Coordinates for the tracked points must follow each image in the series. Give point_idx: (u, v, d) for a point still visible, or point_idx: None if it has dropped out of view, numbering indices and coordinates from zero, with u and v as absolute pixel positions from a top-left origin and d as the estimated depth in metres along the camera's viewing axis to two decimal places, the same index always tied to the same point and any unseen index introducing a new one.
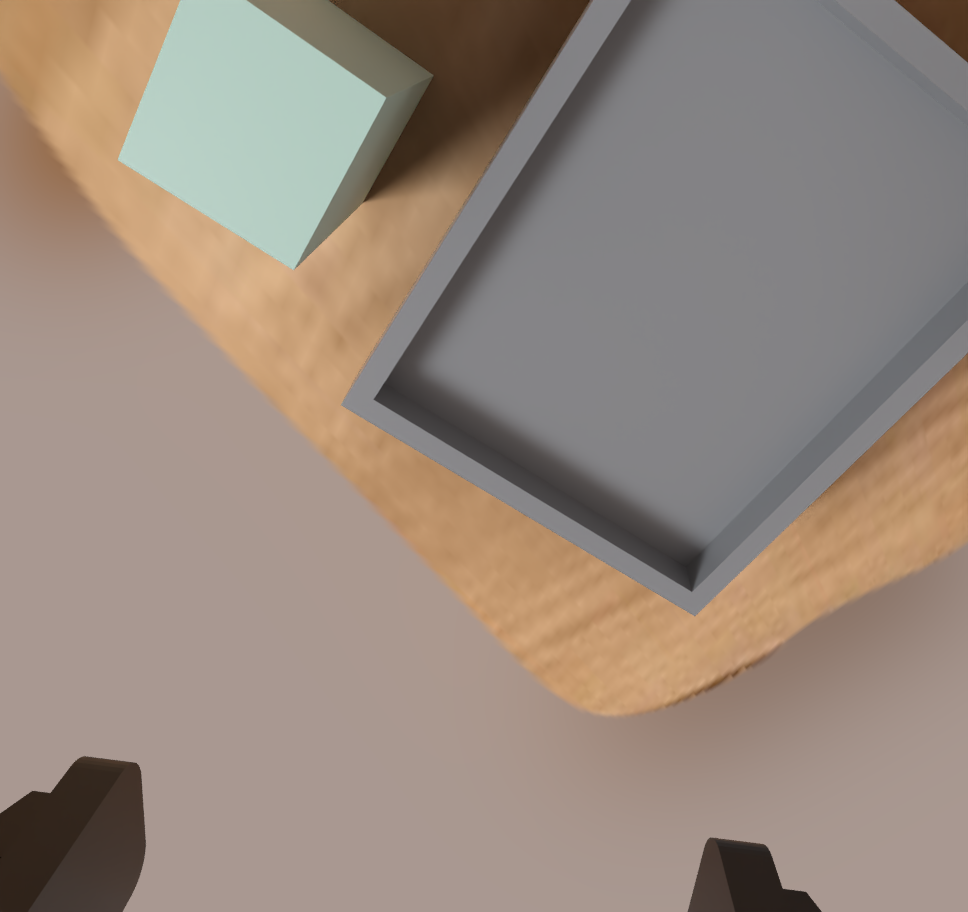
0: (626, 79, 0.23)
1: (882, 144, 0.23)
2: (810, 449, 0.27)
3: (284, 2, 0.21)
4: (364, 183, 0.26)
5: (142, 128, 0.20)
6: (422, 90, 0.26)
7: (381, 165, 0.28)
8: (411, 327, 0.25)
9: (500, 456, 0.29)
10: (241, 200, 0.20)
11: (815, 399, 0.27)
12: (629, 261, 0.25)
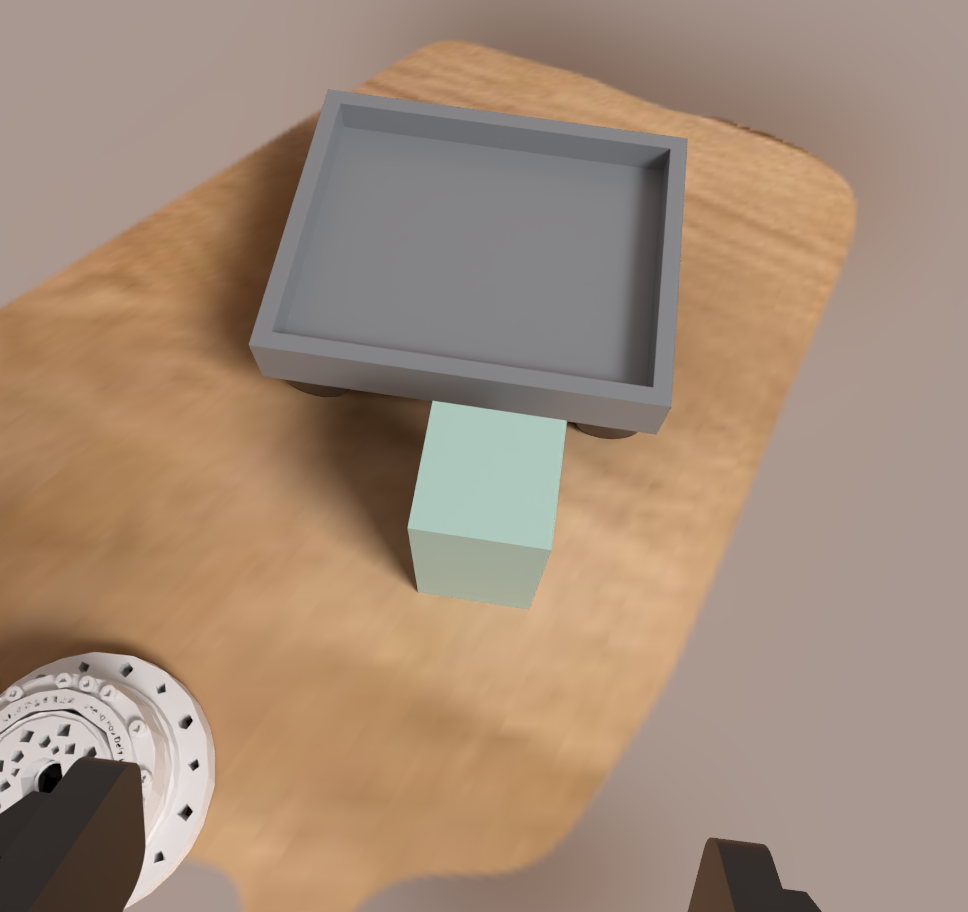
0: (379, 341, 0.36)
1: (354, 208, 0.39)
2: (537, 147, 0.40)
3: None
4: None
5: (521, 537, 0.28)
6: None
7: None
8: (585, 382, 0.34)
9: (653, 308, 0.37)
10: (537, 464, 0.29)
11: (507, 164, 0.40)
12: (479, 293, 0.37)
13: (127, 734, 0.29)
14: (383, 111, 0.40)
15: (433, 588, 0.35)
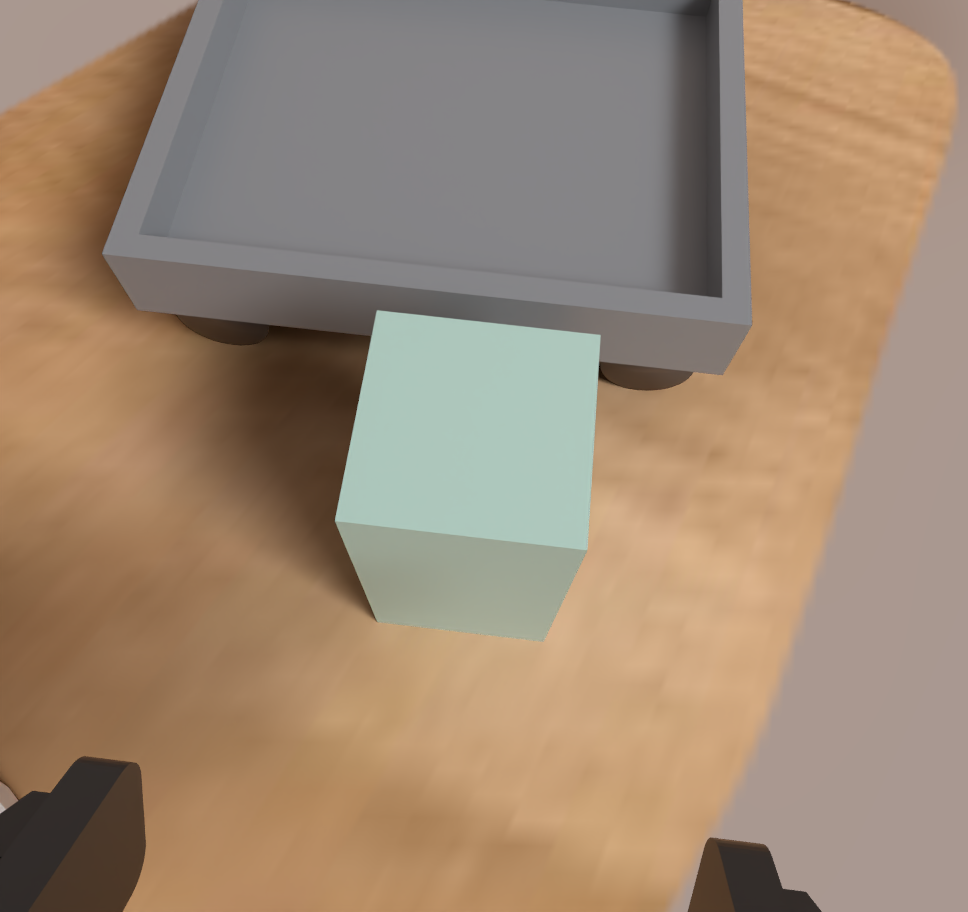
0: (307, 250, 0.24)
1: (272, 74, 0.27)
2: None
3: None
4: None
5: (534, 530, 0.16)
6: None
7: None
8: (618, 293, 0.22)
9: (707, 194, 0.26)
10: (555, 407, 0.17)
11: (487, 13, 0.29)
12: (454, 182, 0.26)
13: None
14: None
15: (398, 616, 0.23)
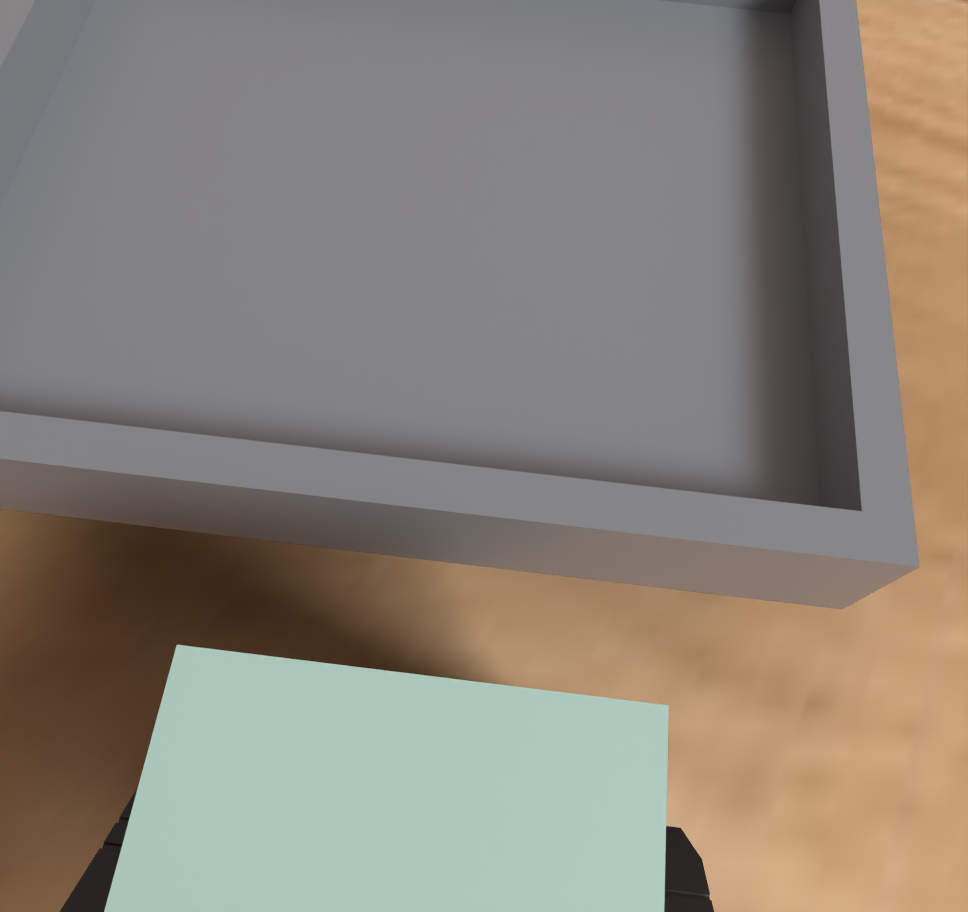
0: (151, 401, 0.15)
1: (124, 101, 0.18)
2: None
3: None
4: None
5: None
6: None
7: None
8: (677, 502, 0.12)
9: (810, 300, 0.16)
10: None
11: (461, 8, 0.19)
12: (400, 278, 0.16)
13: None
14: None
15: None
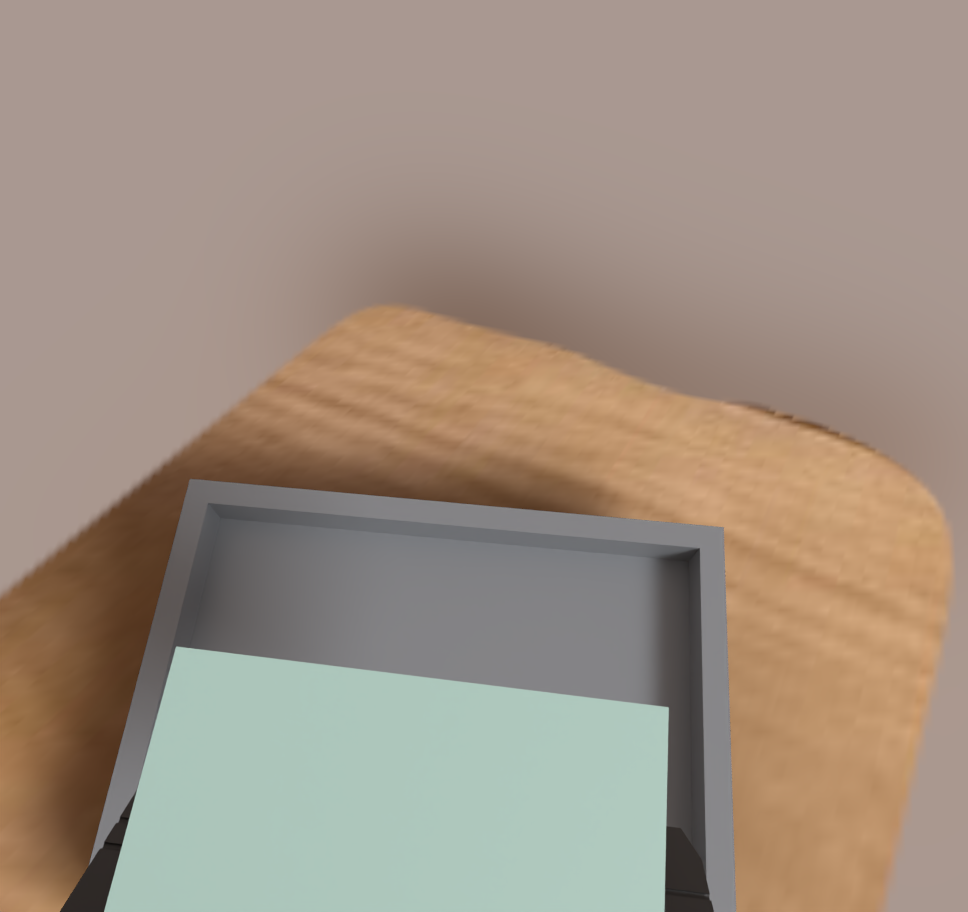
0: None
1: None
2: (503, 541, 0.28)
3: None
4: None
5: None
6: None
7: None
8: None
9: (693, 829, 0.24)
10: None
11: (460, 567, 0.28)
12: None
13: None
14: (272, 509, 0.27)
15: None
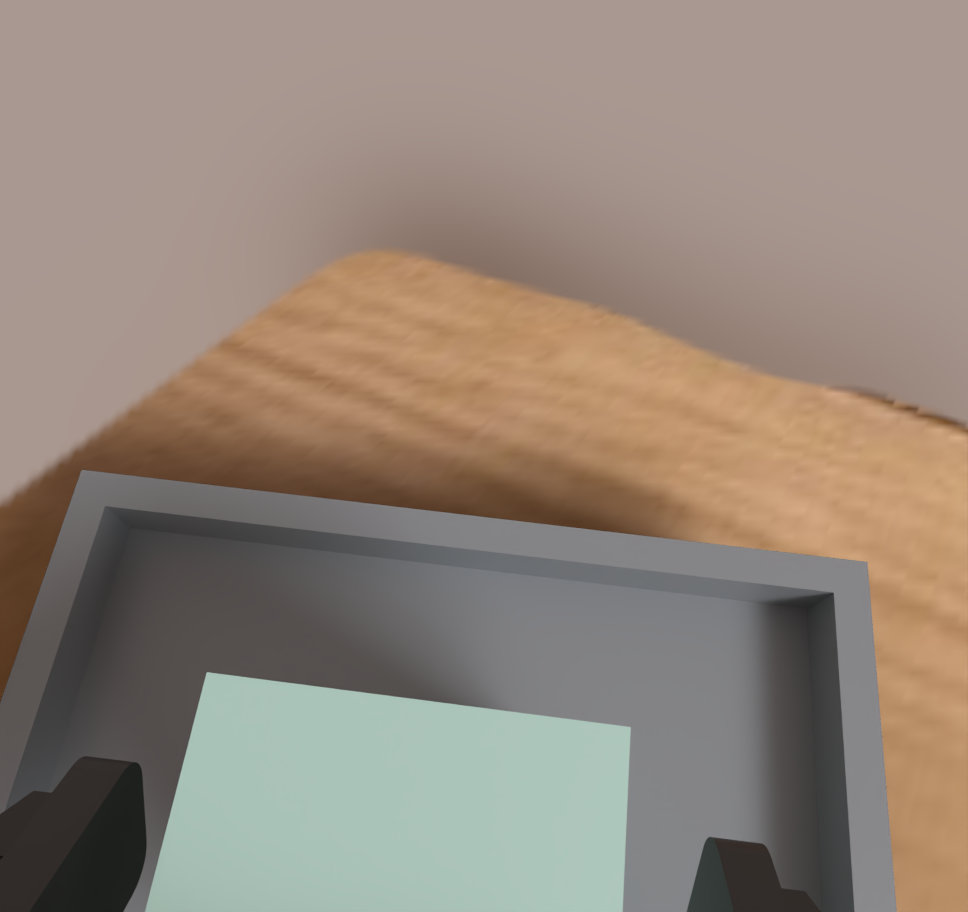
0: None
1: (134, 756, 0.17)
2: (539, 572, 0.19)
3: None
4: None
5: None
6: None
7: None
8: None
9: None
10: (542, 906, 0.09)
11: (475, 609, 0.19)
12: None
13: None
14: (201, 518, 0.18)
15: None
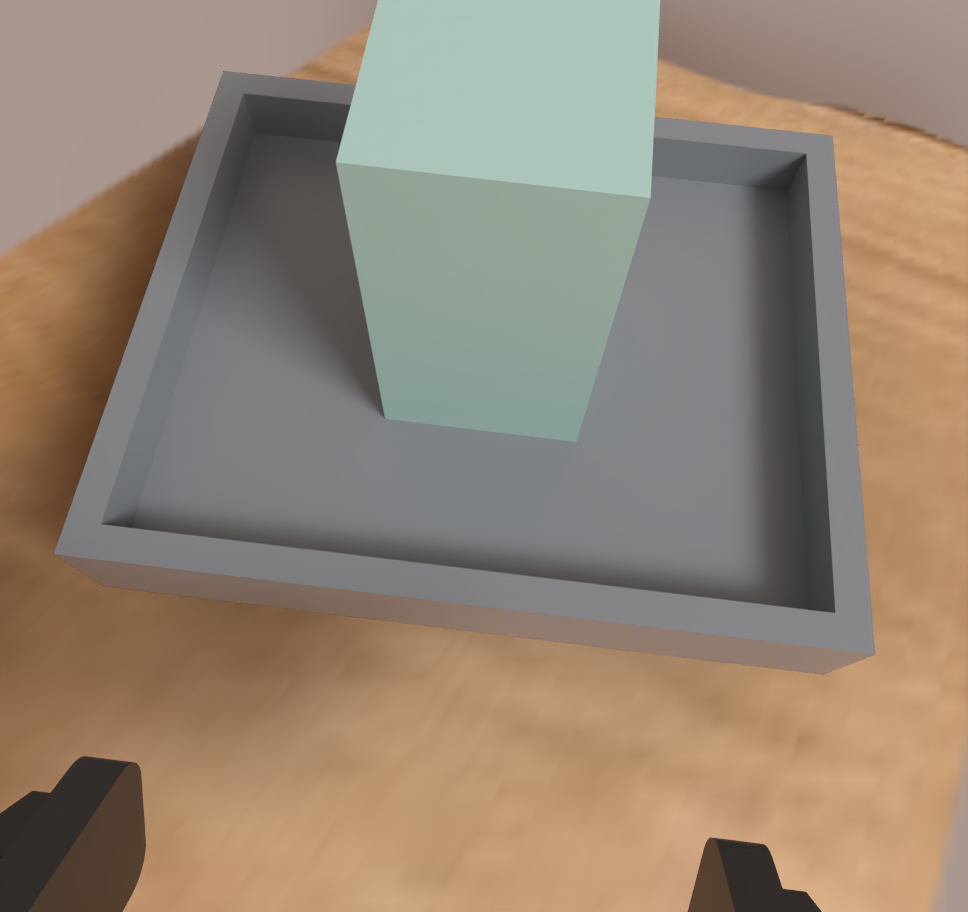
0: (312, 519, 0.20)
1: (270, 271, 0.23)
2: None
3: None
4: None
5: (584, 176, 0.13)
6: None
7: None
8: (704, 607, 0.18)
9: (800, 437, 0.21)
10: (607, 55, 0.14)
11: None
12: None
13: None
14: (317, 105, 0.24)
15: (410, 402, 0.20)
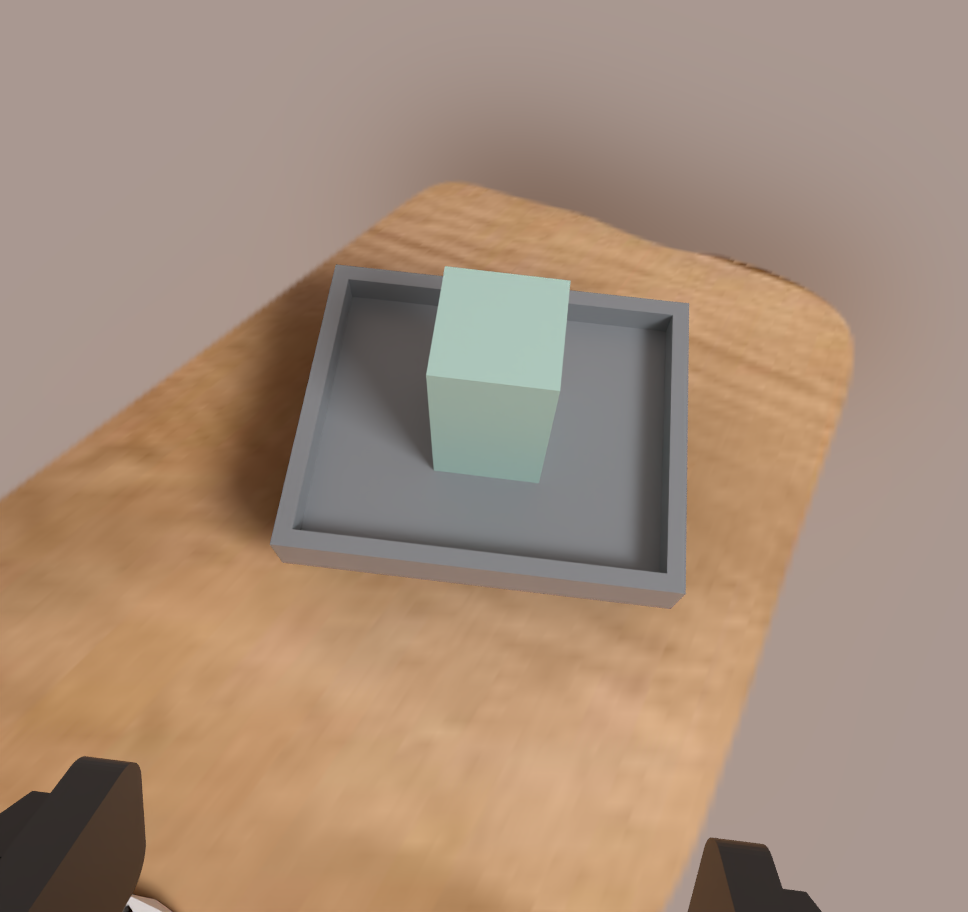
0: (396, 526, 0.37)
1: (365, 384, 0.40)
2: None
3: None
4: None
5: (532, 381, 0.30)
6: None
7: None
8: (600, 570, 0.35)
9: (662, 480, 0.38)
10: (544, 318, 0.31)
11: None
12: None
13: None
14: (390, 285, 0.41)
15: (448, 462, 0.37)
